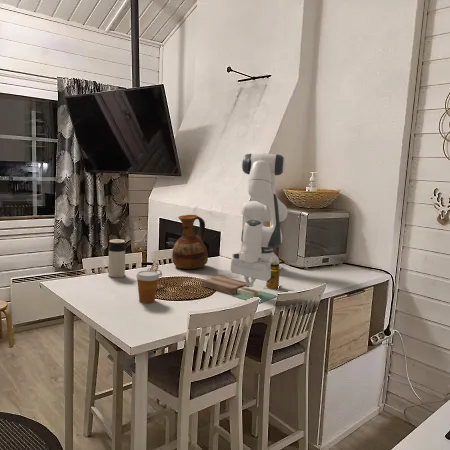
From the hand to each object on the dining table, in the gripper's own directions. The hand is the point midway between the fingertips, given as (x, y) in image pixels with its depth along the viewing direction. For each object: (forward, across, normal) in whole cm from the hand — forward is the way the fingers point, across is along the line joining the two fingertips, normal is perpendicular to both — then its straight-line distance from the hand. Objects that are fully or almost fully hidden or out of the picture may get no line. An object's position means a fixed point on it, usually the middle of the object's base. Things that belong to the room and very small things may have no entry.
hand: (249, 286), depth 192 cm
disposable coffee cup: (+4, +24, +40) cm, 47 cm away
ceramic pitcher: (+4, +53, -17) cm, 56 cm away
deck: (+4, +14, 0) cm, 14 cm away
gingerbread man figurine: (+4, +35, +26) cm, 44 cm away
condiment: (+4, -1, -19) cm, 20 cm away
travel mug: (+4, +64, +25) cm, 69 cm away
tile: (+4, 0, 0) cm, 4 cm away
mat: (+4, -4, 0) cm, 5 cm away
